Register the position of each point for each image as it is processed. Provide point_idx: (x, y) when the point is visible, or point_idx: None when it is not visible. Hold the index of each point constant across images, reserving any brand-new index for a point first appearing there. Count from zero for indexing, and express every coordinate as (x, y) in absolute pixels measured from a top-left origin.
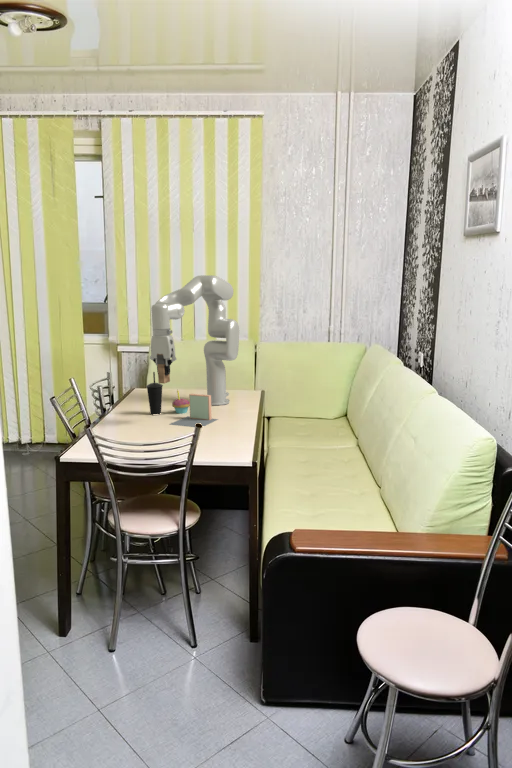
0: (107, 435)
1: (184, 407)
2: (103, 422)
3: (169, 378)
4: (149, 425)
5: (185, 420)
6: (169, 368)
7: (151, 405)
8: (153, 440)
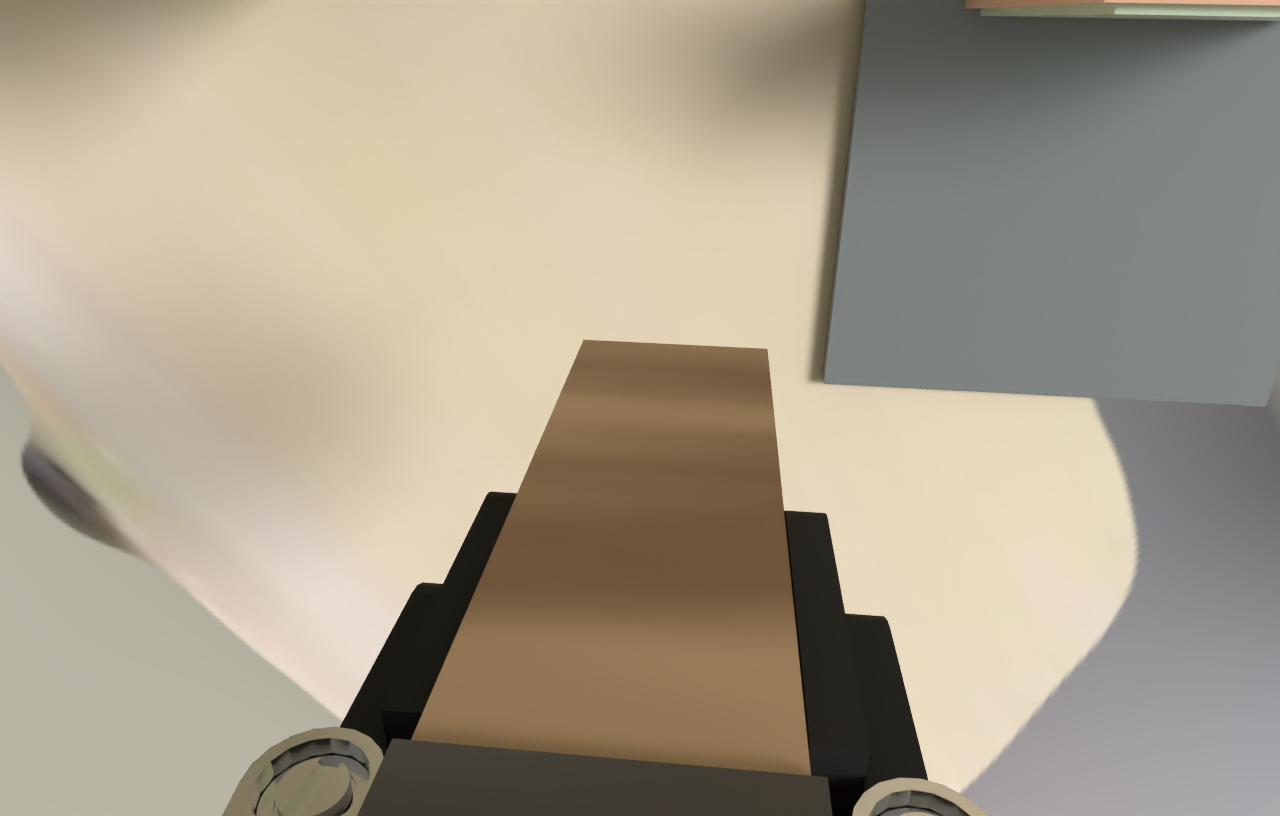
0: None
1: None
2: (106, 456)
3: (768, 398)
4: None
5: (948, 151)
6: (904, 745)
7: None
8: None
